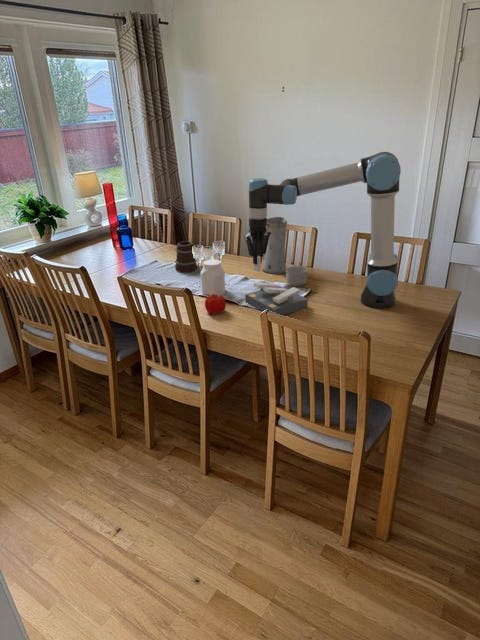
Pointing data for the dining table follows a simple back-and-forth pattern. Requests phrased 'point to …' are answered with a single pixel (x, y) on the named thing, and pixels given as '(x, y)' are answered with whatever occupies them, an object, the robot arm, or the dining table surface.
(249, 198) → the robot arm
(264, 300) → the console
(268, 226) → the vase
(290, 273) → the teacup
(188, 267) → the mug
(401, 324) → the dining table surface
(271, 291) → the rocker
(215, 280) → the jar
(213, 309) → the tomato
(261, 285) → the rocker
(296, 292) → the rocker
